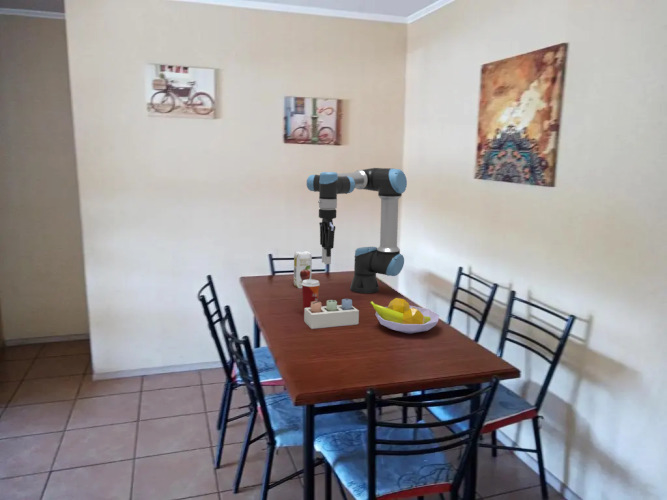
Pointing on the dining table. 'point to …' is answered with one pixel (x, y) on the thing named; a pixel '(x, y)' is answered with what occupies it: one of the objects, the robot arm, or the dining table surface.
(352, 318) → the panel
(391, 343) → the dining table surface
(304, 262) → the juice carton
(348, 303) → the button one
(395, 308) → the fruit bowl
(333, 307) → the button two
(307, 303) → the coffee cup
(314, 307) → the button three
